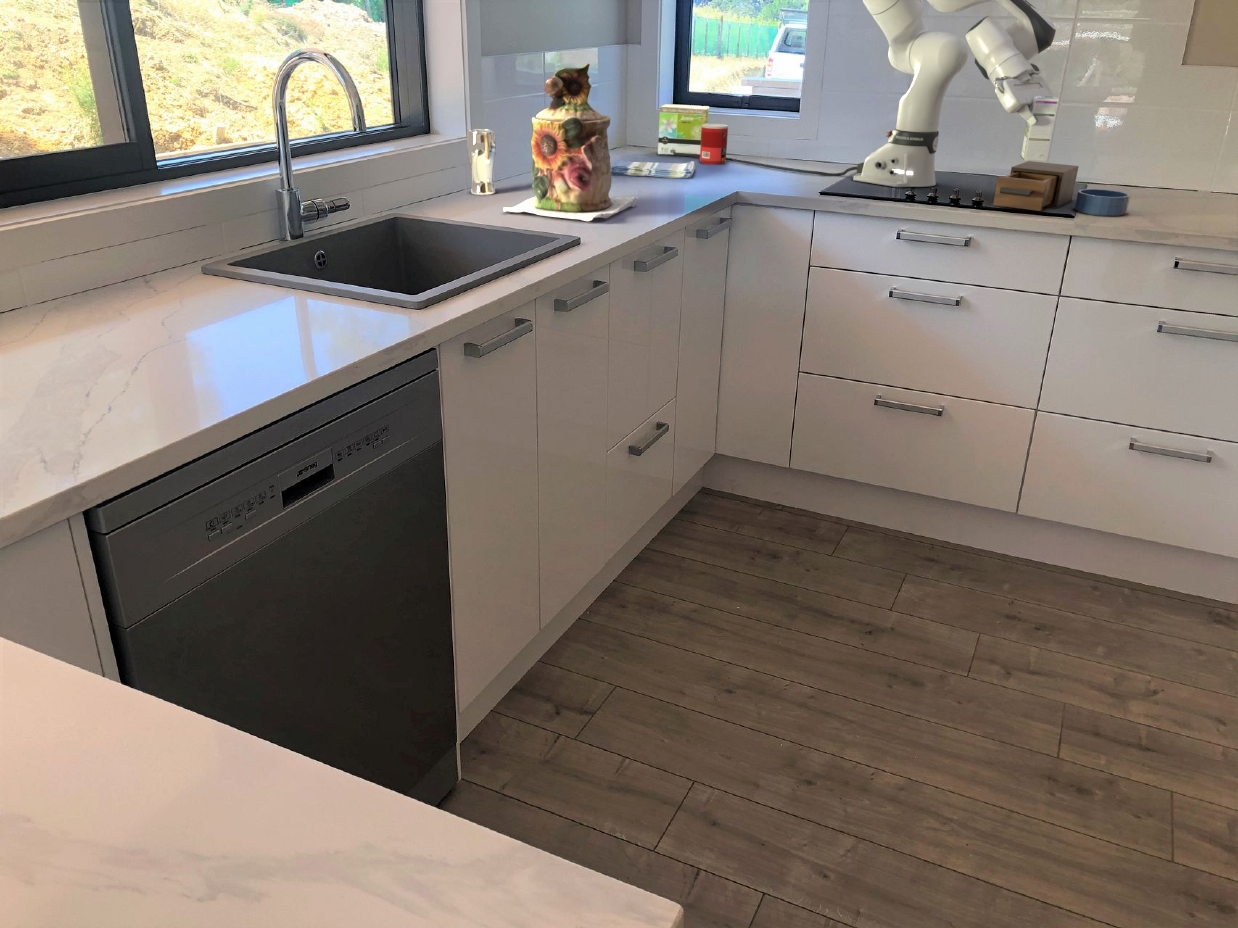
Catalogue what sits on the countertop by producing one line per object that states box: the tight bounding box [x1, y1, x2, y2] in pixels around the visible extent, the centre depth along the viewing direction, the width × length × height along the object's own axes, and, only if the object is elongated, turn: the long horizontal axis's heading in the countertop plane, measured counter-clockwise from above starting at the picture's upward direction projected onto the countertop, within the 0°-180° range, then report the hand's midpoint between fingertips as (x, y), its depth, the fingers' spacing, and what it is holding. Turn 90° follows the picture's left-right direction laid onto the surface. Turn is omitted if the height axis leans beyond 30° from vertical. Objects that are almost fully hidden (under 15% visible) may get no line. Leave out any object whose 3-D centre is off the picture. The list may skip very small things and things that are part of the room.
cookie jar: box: [503, 63, 638, 222], centre depth 229 cm, size 25×25×32 cm
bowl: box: [1074, 188, 1131, 217], centre depth 246 cm, size 12×12×4 cm
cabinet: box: [1009, 160, 1080, 209], centre depth 257 cm, size 15×13×9 cm
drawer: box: [992, 172, 1058, 212], centre depth 246 cm, size 18×11×7 cm, turn 144°
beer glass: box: [467, 128, 497, 196], centre depth 251 cm, size 7×7×15 cm
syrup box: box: [1020, 96, 1060, 163], centre depth 243 cm, size 6×6×14 cm
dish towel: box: [611, 160, 696, 179], centre depth 288 cm, size 17×24×3 cm
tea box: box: [657, 103, 710, 156], centre depth 322 cm, size 15×10×15 cm, turn 81°
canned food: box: [699, 123, 729, 165], centre depth 307 cm, size 8×8×11 cm
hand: (1043, 122), depth 242 cm, fingers closed on syrup box, 7 cm apart
